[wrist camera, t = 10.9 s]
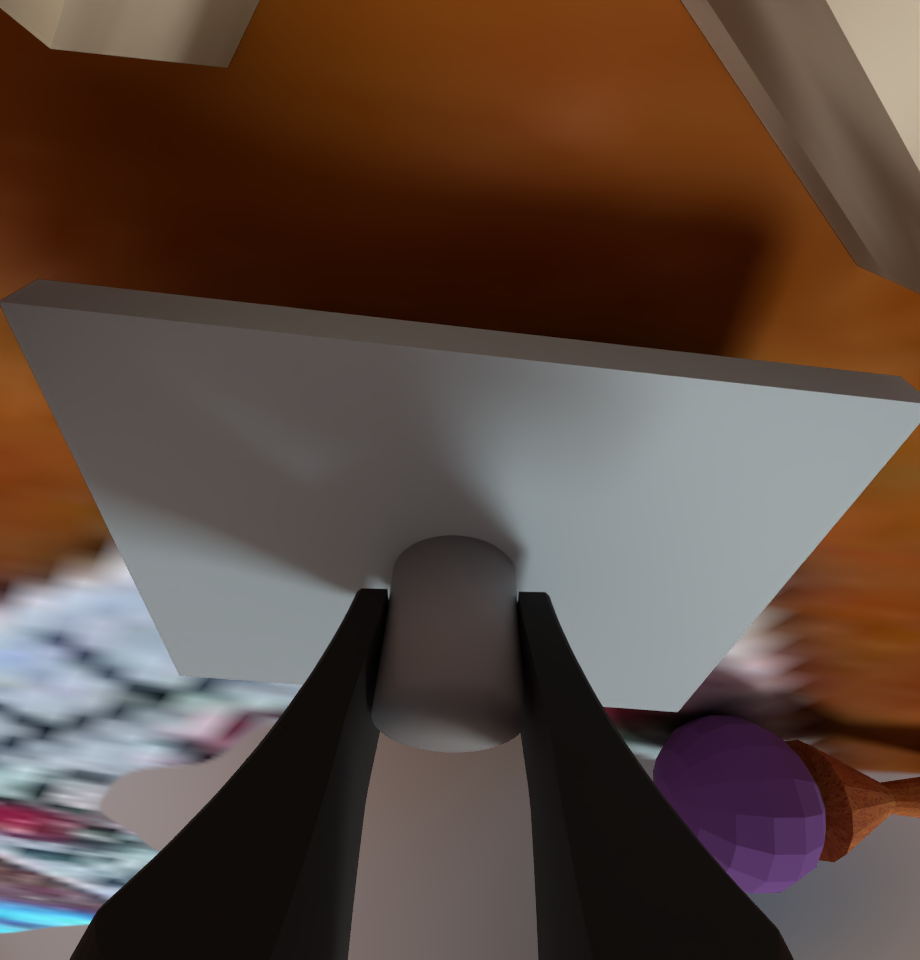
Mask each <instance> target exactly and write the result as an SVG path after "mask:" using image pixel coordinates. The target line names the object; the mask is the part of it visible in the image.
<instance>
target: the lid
mask: <svg viewBox="0 0 920 960" xmlns="http://www.w3.org/2000/svg"><path fill="white" fill-rule="evenodd" d="M0 306H1V308H2V310H3V312H4V314H5V316H6V318H7V320H8V322H9V325H10V327H11V329H12V331H13V333H14V335H15V337H16V339H17V341H18V343H19V345H20V347H21V349H22V351H23V353H24V356H25V358H26V360H27V362H28V364H29V366H30V368H31V370H32V372H33V374H34V376H35V378H36V380H37V382H38V384H39V386H40V389H41V391H42V393H43V395H44V397H45V399H46V401H47V403H48V405H49V407H50V409H51V411H52V413H53V415H54V417H55V420H56V422H57V424H58V426H59V428H60V430H61V432H62V434H63V436H64V438H65V440H66V442H67V444H68V446H69V448H70V450H71V453H72V455H73V457H74V459H75V461H76V463H77V465H78V467H79V469H80V471H81V473H82V475H83V477H84V479H85V481H86V484H87V486H88V488H89V490H90V492H91V494H92V496H93V498H94V500H95V502H96V504H97V506H98V508H99V510H100V512H101V514H102V517H103V519H104V521H105V523H106V525H107V527H108V529H109V531H110V533H111V535H112V537H113V539H114V541H115V543H116V545H117V548H118V550H119V552H120V554H121V556H122V558H123V560H124V562H125V564H126V566H127V568H128V570H129V572H130V574H131V576H132V578H133V581H134V583H135V585H136V587H137V589H138V591H139V593H140V595H141V597H142V599H143V601H144V603H145V605H146V607H147V609H148V612H149V614H150V616H151V618H152V620H153V622H154V624H155V626H156V628H157V630H158V632H159V634H160V636H161V638H162V640H163V642H164V645H165V647H166V649H167V651H168V653H169V655H170V657H171V659H172V661H173V663H174V665H175V667H176V669H177V671H178V673H179V676H193V677H207V678H220V679H234V680H247V681H261V682H274V683H288V684H302V685H303V684H304V683H305V681H306V680H307V678H308V677H309V675H310V674H311V672H312V671H313V669H314V668H315V666H316V665H317V663H318V661H319V660H320V658H321V656H322V655H323V653H324V652H325V650H326V648H327V647H328V645H329V643H330V642H331V640H332V638H333V637H334V635H335V633H336V631H337V630H338V628H339V626H340V624H341V623H342V621H343V619H344V617H345V615H346V613H347V611H348V609H349V607H350V605H351V603H352V601H353V599H354V597H355V595H356V593H357V591H358V590H360V589H361V588H371V589H387V590H388V599H389V601H388V608H387V614H386V621H385V628H384V634H383V641H382V648H381V654H380V661H379V668H378V674H377V681H376V688H375V694H374V701H373V708H372V714H371V716H372V721H373V723H374V725H375V726H376V728H377V729H378V730H379V731H380V732H381V733H383V734H384V735H385V736H387V737H389V738H390V739H392V740H394V741H397V742H399V743H402V744H404V745H407V746H410V747H414V748H418V749H423V750H430V751H437V752H470V751H477V750H483V749H488V748H492V747H495V746H498V745H501V744H504V743H506V742H508V741H510V740H511V739H513V738H515V737H516V736H517V735H518V734H519V733H520V732H521V731H522V730H523V728H524V727H525V724H526V708H525V695H524V681H523V668H522V654H521V642H520V628H519V615H518V594H519V592H546V593H547V594H548V595H549V596H550V599H551V602H552V605H553V607H554V610H555V613H556V615H557V618H558V620H559V623H560V625H561V627H562V629H563V632H564V634H565V636H566V638H567V640H568V643H569V645H570V647H571V649H572V651H573V653H574V655H575V657H576V659H577V661H578V663H579V665H580V666H581V668H582V670H583V672H584V674H585V676H586V678H587V680H588V682H589V683H590V685H591V687H592V689H593V691H594V692H595V694H596V696H597V698H598V699H599V701H600V703H601V704H602V706H603V707H614V708H627V709H641V710H655V711H668V712H678V711H679V710H680V709H681V708H682V706H683V705H684V704H685V703H686V702H687V700H688V699H689V698H690V697H691V696H692V695H693V693H694V692H695V691H696V690H697V689H698V687H699V686H700V685H701V684H702V683H703V681H704V680H705V679H706V678H707V677H708V675H709V674H710V673H711V672H712V671H713V669H714V668H715V667H716V666H717V665H718V663H719V662H720V661H721V660H722V659H723V657H724V656H725V655H726V654H727V653H728V652H729V650H730V649H731V648H732V647H733V646H734V644H735V643H736V642H737V641H738V640H739V638H740V637H741V636H742V635H743V634H744V632H745V631H746V630H747V629H748V628H749V626H750V625H751V624H752V623H753V622H754V620H755V619H756V618H757V617H758V616H759V614H760V613H761V612H762V611H763V610H764V609H765V607H766V606H767V605H768V604H769V603H770V601H771V600H772V599H773V598H774V597H775V595H776V594H777V593H778V592H779V591H780V589H781V588H782V587H783V586H784V585H785V583H786V582H787V581H788V580H789V579H790V577H791V576H792V575H793V574H794V573H795V571H796V570H797V569H798V568H799V567H800V566H801V564H802V563H803V562H804V561H805V560H806V558H807V557H808V556H809V555H810V554H811V552H812V551H813V550H814V549H815V548H816V546H817V545H818V544H819V543H820V542H821V540H822V539H823V538H824V537H825V536H826V534H827V533H828V532H829V531H830V530H831V528H832V527H833V526H834V525H835V524H836V523H837V521H838V520H839V519H840V518H841V517H842V515H843V514H844V513H845V512H846V511H847V509H848V508H849V507H850V506H851V505H852V503H853V502H854V501H855V500H856V499H857V497H858V496H859V495H860V494H861V493H862V491H863V490H864V489H865V488H866V487H867V485H868V484H869V483H870V482H871V481H872V480H873V478H874V477H875V476H876V475H877V474H878V472H879V471H880V470H881V469H882V468H883V466H884V465H885V464H886V463H887V462H888V460H889V459H890V458H891V457H892V456H893V454H894V453H895V452H896V451H897V450H898V448H899V447H900V446H901V445H902V444H903V442H904V441H905V440H906V439H907V438H908V437H909V435H910V434H911V433H912V432H913V431H914V429H915V428H916V427H917V426H918V425H919V423H920V392H919V391H918V390H916V389H915V388H914V387H913V386H911V385H910V384H909V383H908V382H907V381H905V380H904V379H903V378H902V377H901V376H892V375H884V374H875V373H866V372H857V371H848V370H839V369H830V368H822V367H813V366H804V365H795V364H786V363H777V362H768V361H760V360H751V359H742V358H733V357H724V356H715V355H707V354H698V353H689V352H680V351H671V350H662V349H653V348H645V347H636V346H627V345H618V344H609V343H600V342H592V341H583V340H574V339H565V338H556V337H547V336H538V335H530V334H521V333H512V332H503V331H494V330H485V329H476V328H468V327H459V326H450V325H441V324H432V323H423V322H415V321H406V320H397V319H388V318H379V317H370V316H361V315H353V314H344V313H335V312H326V311H317V310H308V309H299V308H291V307H282V306H273V305H264V304H255V303H246V302H238V301H229V300H220V299H211V298H202V297H193V296H184V295H176V294H167V293H158V292H149V291H140V290H131V289H123V288H114V287H105V286H96V285H87V284H78V283H69V282H61V281H52V280H43V279H37V280H35V281H33V282H31V283H30V284H28V285H26V286H25V287H23V288H21V289H19V290H18V291H16V292H14V293H12V294H11V295H9V296H7V297H6V298H4V299H2V300H0Z"/></svg>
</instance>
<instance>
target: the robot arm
mask: <svg viewBox="0 0 920 960" xmlns="http://www.w3.org/2000/svg"><path fill="white" fill-rule="evenodd" d="M388 601H389V599H388V590H387V589H371V588H361V589H360V590H358V591H357V593H356V595H355V597H354V599H353V601H352V603H351V605H350V607H349V609H348V611H347V613H346V615H345V617H344V619H343V621H342V623H341V624H340V626H339V628H338V630H337V631H336V633H335V635H334V637H333V638H332V640H331V642H330V643H329V645H328V647H327V648H326V650H325V652H324V653H323V655H322V656H321V658H320V660H319V661H318V663H317V665H316V666H315V668H314V669H313V671H312V672H311V674H310V675H309V677H308V678H307V680H306V681H305V683H304V684H303V686H302V687H301V688H300V690H299V691H298V693H297V694H296V696H295V697H294V699H293V700H292V702H291V703H290V704H289V706H288V707H287V709H286V710H285V711H284V713H283V714H282V715H281V717H280V718H279V719H278V721H277V722H276V723H275V725H274V726H273V727H272V729H271V730H270V731H269V732H268V734H267V735H266V736H265V738H264V739H263V740H262V741H261V742H260V744H259V745H258V746H257V747H256V749H255V750H254V751H253V752H252V754H251V755H250V756H249V757H248V758H247V759H246V761H245V762H244V763H243V764H242V765H241V766H240V768H239V769H238V770H237V771H236V772H235V773H234V775H233V776H232V777H231V778H230V779H229V780H228V781H227V783H226V784H225V785H224V786H223V787H222V788H221V789H220V791H218V793H217V794H216V795H215V796H214V797H213V798H212V799H211V800H210V801H209V802H208V803H207V804H206V805H205V806H204V807H203V809H202V810H201V811H200V812H199V813H198V814H197V815H196V816H195V817H194V818H193V819H192V820H191V821H190V822H189V823H188V824H187V825H186V826H185V827H184V828H183V829H182V830H181V831H180V832H179V833H178V834H177V836H175V837H174V839H173V840H171V842H169V843H168V845H166V847H164V848H163V849H162V850H161V851H160V852H159V853H158V854H157V855H156V856H155V857H154V858H153V859H152V860H151V861H150V862H149V863H148V864H147V865H145V866H144V867H143V868H142V869H141V870H140V871H139V872H138V873H137V874H136V875H135V876H134V877H133V878H132V879H130V880H129V881H128V882H127V883H126V884H125V885H124V886H123V887H122V888H121V889H120V890H119V891H118V892H116V893H115V894H114V895H113V896H112V897H111V898H110V899H109V900H108V901H107V902H106V903H105V904H104V905H102V906H101V907H100V909H99V910H98V911H97V912H96V914H95V916H94V917H93V919H92V921H91V923H90V924H89V926H88V928H87V930H86V931H85V933H84V935H83V936H82V938H81V940H80V942H79V944H78V945H77V947H76V949H75V951H74V952H73V954H72V956H71V958H70V960H348V951H349V941H350V931H351V921H352V912H353V903H354V894H355V885H356V876H357V867H358V859H359V850H360V843H361V835H362V826H363V818H364V810H365V803H366V797H367V791H368V786H369V781H370V776H371V771H372V767H373V762H374V756H375V752H376V748H377V743H378V738H379V733H380V731H379V730H378V729H377V728H376V726H375V725H374V723H373V721H372V716H371V714H372V708H373V701H374V694H375V688H376V681H377V674H378V668H379V661H380V654H381V648H382V641H383V634H384V628H385V621H386V614H387V608H388ZM518 615H519V628H520V642H521V654H522V668H523V681H524V695H525V708H526V724H525V727H524V728H523V730H522V731H521V739H522V745H523V753H524V759H525V767H526V774H527V781H528V788H529V797H530V806H531V821H532V838H533V856H534V874H535V893H536V913H537V935H538V957H539V960H794V959H793V957H792V955H791V953H790V951H789V949H788V947H787V945H786V943H785V941H784V939H783V938H782V935H781V934H780V932H779V930H778V929H777V928H776V926H775V925H774V924H773V923H772V922H771V921H770V920H769V919H768V918H767V916H766V915H765V914H764V913H763V912H762V911H761V910H760V909H759V908H758V907H757V906H756V905H755V904H754V902H753V901H752V900H751V899H750V898H749V897H748V896H747V895H746V894H745V893H744V891H743V890H742V889H741V888H740V887H739V886H738V885H737V884H736V883H735V881H734V880H733V879H732V878H731V877H730V876H729V875H728V874H727V873H726V871H725V870H724V869H723V868H722V867H721V866H720V864H719V863H718V862H717V861H716V860H715V859H714V857H713V856H712V855H711V854H710V853H709V852H708V850H707V849H706V848H705V847H704V846H703V845H702V843H701V842H700V841H699V840H698V839H697V837H696V836H695V835H694V834H693V832H692V831H691V830H690V829H689V827H688V826H687V825H686V824H685V822H684V821H683V820H682V819H681V817H680V816H679V815H678V813H677V812H676V811H675V810H674V808H673V807H672V806H671V805H670V803H669V802H668V801H667V800H666V798H665V797H664V796H663V795H662V793H661V792H660V791H659V789H658V788H657V787H656V785H655V784H654V783H653V781H652V780H651V778H650V777H649V776H648V774H647V773H646V771H645V770H644V769H643V767H642V766H641V765H640V763H639V762H638V760H637V759H636V757H635V756H634V754H633V753H632V751H631V750H630V749H629V747H628V746H627V744H626V743H625V741H624V740H623V738H622V737H621V735H620V733H619V732H618V730H617V729H616V727H615V726H614V724H613V722H612V721H611V719H610V718H609V716H608V714H607V713H606V711H605V709H604V708H603V706H602V704H601V703H600V701H599V699H598V698H597V696H596V694H595V692H594V691H593V689H592V687H591V685H590V683H589V682H588V680H587V678H586V676H585V674H584V672H583V670H582V668H581V666H580V665H579V663H578V661H577V659H576V657H575V655H574V653H573V651H572V649H571V647H570V645H569V643H568V640H567V638H566V636H565V634H564V632H563V629H562V627H561V625H560V623H559V620H558V618H557V615H556V613H555V610H554V607H553V605H552V602H551V599H550V596H549V595H548V594H547V593H546V592H519V594H518Z"/></svg>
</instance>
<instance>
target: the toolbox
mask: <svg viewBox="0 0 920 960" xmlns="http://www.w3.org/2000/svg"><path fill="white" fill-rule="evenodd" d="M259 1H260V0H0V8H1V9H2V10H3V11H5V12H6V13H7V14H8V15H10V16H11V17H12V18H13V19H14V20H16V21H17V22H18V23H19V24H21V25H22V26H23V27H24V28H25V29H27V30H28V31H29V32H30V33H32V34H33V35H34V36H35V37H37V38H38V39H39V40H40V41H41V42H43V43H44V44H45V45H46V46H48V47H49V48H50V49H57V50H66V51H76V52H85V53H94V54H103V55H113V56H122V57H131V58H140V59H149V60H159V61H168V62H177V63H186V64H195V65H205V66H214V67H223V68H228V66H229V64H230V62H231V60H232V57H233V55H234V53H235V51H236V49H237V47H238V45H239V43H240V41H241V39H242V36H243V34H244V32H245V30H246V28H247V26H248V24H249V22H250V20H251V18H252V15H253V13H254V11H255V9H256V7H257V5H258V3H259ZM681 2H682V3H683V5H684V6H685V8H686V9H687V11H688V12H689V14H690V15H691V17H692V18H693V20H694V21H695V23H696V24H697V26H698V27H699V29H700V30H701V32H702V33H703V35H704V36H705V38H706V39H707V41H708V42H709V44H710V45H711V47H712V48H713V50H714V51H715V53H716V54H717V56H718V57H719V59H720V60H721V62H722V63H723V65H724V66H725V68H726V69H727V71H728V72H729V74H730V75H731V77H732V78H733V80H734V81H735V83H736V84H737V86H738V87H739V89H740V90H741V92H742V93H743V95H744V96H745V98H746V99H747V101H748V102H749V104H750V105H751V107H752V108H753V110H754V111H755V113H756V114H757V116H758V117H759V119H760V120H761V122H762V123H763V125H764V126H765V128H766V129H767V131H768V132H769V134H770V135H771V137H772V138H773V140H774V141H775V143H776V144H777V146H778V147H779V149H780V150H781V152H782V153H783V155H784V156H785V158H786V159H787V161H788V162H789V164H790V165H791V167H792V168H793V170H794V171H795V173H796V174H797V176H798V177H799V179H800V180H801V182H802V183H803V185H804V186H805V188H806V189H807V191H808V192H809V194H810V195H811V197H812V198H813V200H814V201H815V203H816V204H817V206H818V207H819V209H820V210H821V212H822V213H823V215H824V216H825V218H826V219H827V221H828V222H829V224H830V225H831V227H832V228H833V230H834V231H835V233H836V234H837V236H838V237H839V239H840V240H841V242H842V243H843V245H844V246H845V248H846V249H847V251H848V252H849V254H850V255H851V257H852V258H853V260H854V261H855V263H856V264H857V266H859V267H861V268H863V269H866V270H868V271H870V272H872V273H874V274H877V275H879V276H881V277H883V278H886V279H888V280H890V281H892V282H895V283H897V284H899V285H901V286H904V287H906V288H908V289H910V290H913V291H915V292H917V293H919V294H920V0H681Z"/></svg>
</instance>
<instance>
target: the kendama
mask: <svg viewBox="0 0 920 960" xmlns="http://www.w3.org/2000/svg"><path fill="white" fill-rule="evenodd" d="M653 783H654V784H655V785H656V787H657V788H658V789H659V791H660V792H661V793H662V795H663V796H664V797H665V798H666V800H667V801H668V802H669V803H670V805H671V806H672V807H673V808H674V810H675V811H676V812H677V813H678V815H679V816H680V817H681V819H682V820H683V821H684V822H685V824H686V825H687V826H688V827H689V829H690V830H691V831H692V832H693V834H694V835H695V836H696V837H697V839H698V840H699V841H700V842H701V843H702V845H703V846H704V847H705V848H706V849H707V850H708V852H709V853H710V854H711V855H712V856H713V857H714V859H715V860H716V861H717V862H718V863H719V864H720V866H721V867H722V868H723V869H724V870H725V871H726V873H727V874H728V875H729V876H730V877H731V878H732V879H733V880H734V881H735V883H736V884H737V885H738V886H739V887H740V888H741V889H742V890H743V891H744V892H747V893H780V892H782V891H784V890H785V889H787V888H788V887H790V886H791V885H793V884H794V883H796V882H797V881H798V880H800V879H801V878H802V877H804V876H805V875H806V874H808V873H809V872H810V871H811V870H813V869H814V868H815V867H816V866H817V864H818V861H819V860H822V861H830V862H835V861H837V860H838V859H840V858H841V857H843V856H844V855H846V854H847V853H848V852H849V851H851V850H852V849H853V848H854V847H855V846H856V845H857V844H858V843H859V842H860V841H861V840H863V839H864V838H865V837H866V836H867V835H868V834H869V833H870V832H872V831H873V830H874V829H875V828H876V827H877V826H878V825H879V824H881V823H882V822H883V821H884V820H885V819H886V818H887V817H888V816H889V815H890V814H895V815H902V816H910V817H917V818H920V777H916V778H909V779H902V780H895V781H888V782H881V783H880V782H878V781H876V780H874V779H872V778H870V777H868V776H867V775H865V774H863V773H861V772H859V771H857V770H855V769H854V768H852V767H850V766H848V765H846V764H844V763H843V762H841V761H839V760H837V759H835V758H833V757H831V756H830V755H828V754H826V753H824V752H822V751H820V750H818V749H817V748H815V747H813V746H810V745H808V744H806V743H804V742H801V741H799V740H793V741H784V740H783V739H782V738H781V737H780V736H778V735H776V734H774V733H772V732H770V731H768V730H766V729H764V728H762V727H760V726H758V725H756V724H753V723H751V722H749V721H747V720H744V719H742V718H740V717H738V716H719V715H709V716H705V717H701V718H698V719H695V720H692V721H690V722H688V723H686V724H684V725H682V726H680V727H679V728H677V729H675V730H674V731H673V733H672V734H671V735H670V737H669V738H668V739H667V741H666V742H665V744H664V746H663V748H662V749H661V751H660V753H659V755H658V756H657V758H656V762H655V766H654V771H653Z"/></svg>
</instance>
